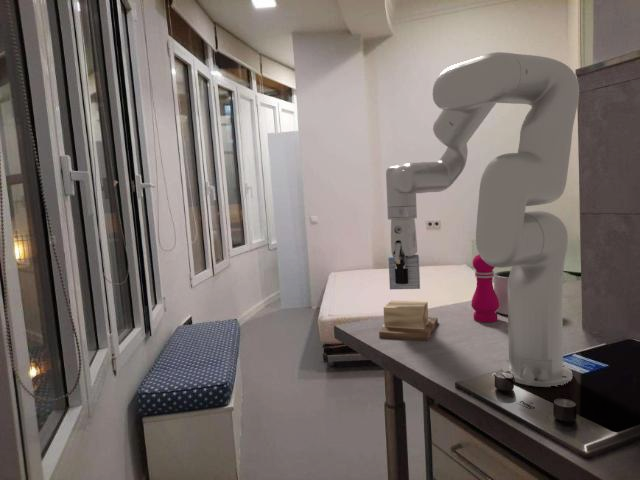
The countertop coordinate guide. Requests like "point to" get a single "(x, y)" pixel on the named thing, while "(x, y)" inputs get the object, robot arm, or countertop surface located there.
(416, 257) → the medicine box
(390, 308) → the oak block
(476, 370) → the countertop surface
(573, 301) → the countertop surface
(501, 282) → the planter
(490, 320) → the pepper mill
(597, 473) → the countertop surface
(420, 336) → the board
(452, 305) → the countertop surface
